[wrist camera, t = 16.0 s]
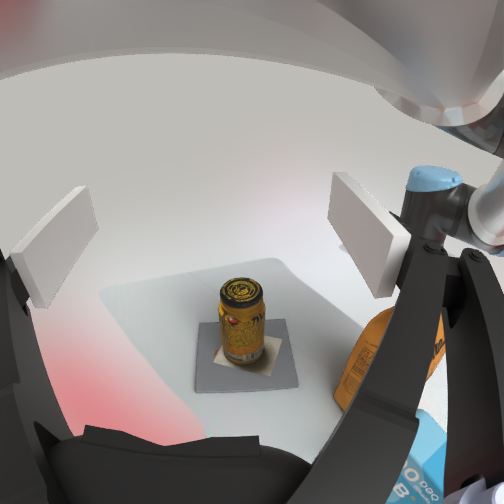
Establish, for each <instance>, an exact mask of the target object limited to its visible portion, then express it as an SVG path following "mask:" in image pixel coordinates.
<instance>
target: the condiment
mask: <svg viewBox="0 0 504 504" xmlns="http://www.w3.org/2000/svg"><path fill="white" fill-rule="evenodd" d="M262 296H263V290H262V287H261V286H260V284H259V283H257V282H256V281H254V280H253V279H249V278H234V279H231V280H229V281H227V282H226V283H225V284H224V285H223V286H222V288H221V290H220V298H221V299H220V304H219V308H218V310H219V322H220V327H221V328H220V330H221V337H222V339H221V340H222V346H221V348H220V350H219V352H218V353H217V355H216V357H215V359H214V363H217V364H220V365H224V366H228V367H231V368H236V369H239V370H244V371H248V372H252V373H256V374H262V375H266V376H271V373H272V370H273V367H274V364H275V361H276V358H277V355H278V351H279V348H280V345H281V342H282V339H279V338H274V337H270V336H265V334H264V328H265V304H264V302H263V297H262Z"/></svg>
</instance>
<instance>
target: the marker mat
mask: <svg viewBox="0 0 504 504" xmlns="http://www.w3.org/2000/svg"><path fill="white" fill-rule="evenodd" d="M220 328H221V327H220V322H214V323H200V325H199V338H198V353H197V369H196V387H195V392H196V393H231V392H252V391H266V390H278V389H288V388H297V387H298V386H299V385H298V380H297V375H296V370H295V365H294V360H293V355H292V351H291V346H290V341H289V336H288V332H287V327H286V322H285V319H275V320H265V328H264V334H265V336H270V337H274V338H279V339H282V342H281V345H280V348H279V351H278V355H277V358H276V361H275V364H274V367H273V370H272V373H271V376H266V375H262V374H256V373H252V372H248V371H244V370H239V369H236V368H231V367H228V366H224V365H220V364H217V363H214V359H215V357H216V355H217V353H218V352H219V350H220V348H221V346H222V340H221V339H222V337H221V330H220Z"/></svg>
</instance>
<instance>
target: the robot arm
mask: <svg viewBox="0 0 504 504" xmlns="http://www.w3.org/2000/svg"><path fill="white" fill-rule="evenodd" d="M157 53H158V54H159V53H186V54H209V55H223V56H234V57H244V58H252V59H259V60H266V61H273V62H279V63H284V64H290V65H295V66H300V67H305V68H309V69H314V70H318V71H322V72H326V73H330V74H334V75H338V76H342V77H345V78H348V79H352V80H355V81H358V82H362V83H365V84H368V85H371V86H374V88H375V89H376V90H377V91H378V93H379V94H380V95H381V96H382V97H383V98H384V99H385V100H387V101H388V102H389V103H390V104H391V105H392V106H394V107H395V108H397V109H398V110H399V111H401V112H403V113H404V114H406V115H408V116H410V117H412V118H414V119H417V120H419V121H422V122H425V123H428V124H431V125H434V126H436V127H437V128H439V129H441V130H444V131H445V132H447V133H449V134H451V135H453V136H455V137H457V138H459V139H460V140H462V141H464V142H467V143H469V144H471V145H473V146H475V147H477V148H479V149H482V150H484V151H487V152H489V153H492V154H493V155H496V156H498V157H500V158H503V160H502V162H501V164H500V165H499V167H498V169H497V171H496V172H495V174H494V175H493V177H492V179H491V180H490V182H489V183H488V184H484V185H482V186H480V187H479V188H475V187H473V186H470V185H467V184H464V183H462V176H461V175H460V174H459V173H457V172H454V171H452V170H450V169H446V168H442V167H436V166H418V167H415V168H413V169H412V170H411V172H410V176H409V179H408V183H407V185H406V193H405V198H404V202H403V207H402V212H401V215H400V217H399V216H397V215H395V214H393V213H392V212H388V211H387V210H386V209H385V208H384V207H383V206H382V205H381V204H380V203H379V202H378V201H377V200H376V199H375V198H374V197H373V196H372V195H371V194H370V193H368V192H367V191H366V190H365V189H364V188H363V187H362V186H361V185H360V184H359V183H358V182H356V181H355V180H354V179H353V178H352V177H351V176H350V175H349V174H348V173H346V172H333V177H332V186H331V195H330V204H329V211H328V220H329V222H330V223H331V225H332V226H333V228H334V230H335V231H336V233H337V234H338V236H339V238H340V239H341V241H342V242H343V244H344V246H345V247H346V249H347V251H348V252H349V254H350V256H351V257H352V259H353V261H354V263H355V264H356V266H357V267H358V269H359V271H360V273H361V275H362V276H363V278H364V279H365V281H366V283H367V285H368V287H369V288H370V290H371V292H372V294H373V296H374V297H375V298H383V297H391V296H392V293H393V291H394V288H395V285H397V286H398V288H399V289H400V293H399V296H398V299H397V301H396V304H395V306H394V309H393V311H392V314H391V317H390V319H389V322H388V324H387V327H386V329H385V331H384V334H383V336H382V338H381V341H380V343H379V345H378V347H377V350H376V352H375V354H374V356H373V358H372V360H371V362H370V365H369V367H368V369H367V371H366V373H365V375H364V377H363V379H362V381H361V383H360V385H359V387H358V389H357V390H356V392H355V394H354V396H353V398H352V400H351V402H350V403H349V405H348V407H347V409H346V411H345V412H344V414H343V416H342V418H341V419H340V421H339V423H338V424H337V426H336V428H335V429H334V431H333V433H332V434H331V436H330V437H329V439H328V441H327V442H326V444H325V445H324V447H323V448H322V450H321V451H320V453H319V454H318V455H317V457H316V458H315V460H314V461H313V463H312V464H310V463H308V462H306V461H305V460H303V459H302V458H300V457H298V456H296V455H294V454H292V453H289V452H286V451H284V450H281V449H277V448H273V447H269V446H263V445H260V444H259V435H258V436H240V437H210V438H206V439H201V440H197V441H192V442H187V443H181V444H176V445H170V446H162V445H158V444H155V443H152V442H149V441H146V440H144V439H141V438H138V437H136V436H133V435H131V434H128V433H126V432H123V431H118V430H112V429H105V428H100V427H95V426H89V425H85V429H84V433H83V435H80V436H74V435H73V434H72V432H71V431H70V429H69V427H68V425H67V423H66V420H65V418H64V416H63V414H62V411H61V409H60V406H59V404H58V401H57V399H56V397H55V394H54V391H53V388H52V386H51V383H50V380H49V378H48V374H47V371H46V368H45V365H44V362H43V359H42V356H41V353H40V349H39V346H38V342H37V339H36V334H35V331H34V326H33V322H32V318H31V313H30V309H29V308H28V306H27V304H26V302H27V300H28V298H29V297H30V298H31V300H32V302H33V304H34V306H35V308H48V307H49V306H50V304H51V302H52V300H53V298H54V297H55V295H56V293H57V292H58V290H59V288H60V287H61V285H62V283H63V282H64V280H65V278H66V277H67V275H68V274H69V272H70V270H71V269H72V267H73V266H74V264H75V262H76V261H77V259H78V258H79V257H80V255H81V254H82V252H83V251H84V249H85V248H86V246H87V245H88V243H89V242H90V240H91V239H92V238H93V236H94V235H95V233H96V232H97V231H98V226H97V223H96V219H95V215H94V211H93V207H92V202H91V198H90V194H89V189H88V185H86V186H80V187H76V188H75V189H73V190H72V191H71V192H70V193H69V194H68V195H67V196H66V197H64V198H63V199H62V200H61V201H60V202H59V203H58V204H57V205H56V206H55V207H54V208H53V209H52V210H50V211H49V212H48V213H47V214H46V215H45V216H44V217H43V218H42V219H41V220H40V221H39V222H38V223H37V224H36V225H35V226H34V227H33V228H32V229H31V230H30V231H29V232H28V234H27V235H26V236H25V237H24V238H23V239H22V240H21V241H20V242H19V243H18V244H17V245H16V246H15V248H14V249H13V250H12V251H11V252H10V256H9V257H8V258H7V259H6V260H5V259H4V256H3V254H2V252H1V249H0V504H385V503H386V502H387V500H388V498H389V496H390V494H391V492H392V490H393V488H394V486H395V484H396V482H397V480H398V478H399V476H400V473H401V471H402V469H403V467H404V464H405V462H406V460H407V457H408V455H409V453H410V450H411V448H412V445H413V443H414V440H415V437H416V435H417V432H418V428H419V424H420V422H419V418H416V411H417V408H418V405H419V402H420V398H421V395H422V392H423V389H424V385H425V382H426V378H427V375H428V371H429V367H430V363H431V359H432V355H433V351H434V346H435V342H436V337H437V332H438V327H439V321H440V316H441V315H442V323H443V331H444V340H445V350H446V363H447V383H448V424H447V442H446V455H445V464H444V478H443V497H444V500H443V501H442V502H441V503H440V504H504V294H503V292H502V289H501V287H500V284H499V282H498V280H497V277H496V275H495V273H494V271H493V268H492V266H491V264H490V262H489V260H488V259H487V257H486V256H484V255H483V253H482V252H479V250H475V249H472V248H465V249H463V251H462V253H461V256H460V258H455V257H450V256H448V254H447V251H446V250H445V249H444V248H443V244H444V240H445V238H446V235H449V236H451V237H454V238H456V239H459V240H461V241H463V242H466V243H468V244H470V245H473V246H475V247H477V248H479V249H482V250H484V251H486V252H488V253H489V254H491V255H496V256H499V257H504V0H0V80H2V79H5V78H8V77H11V76H15V75H17V74H21V73H25V72H29V71H32V70H36V69H41V68H45V67H49V66H54V65H58V64H63V63H68V62H74V61H80V60H87V59H94V58H102V57H111V56H120V55H135V54H157Z"/></svg>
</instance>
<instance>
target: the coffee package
mask: <svg viewBox="0 0 504 504" xmlns="http://www.w3.org/2000/svg"><path fill="white" fill-rule="evenodd" d="M458 258H460V257H458ZM393 309H394V306H393V307H391V308H389V309H386V310H384V311H382V312H380V313H379V314H378V315H377V316H376V317H374V318H373V319H372V320H371V321H370V322H369V323H368V324H367V326H366V327H365V329H364V331H363V332H362V334H361V335H360V337H359V339H358V341H357V343H356V345H355V347H354V349H353V351H352V353H351V355H350V357H349V359H348V361H347V364H346V367H345V370H344V372H343V374H342V377H341V380H340V383H339V385H338V387H337V389H336V392H335V393H334V399H335V400H336V402H337V403H338V404H339V405H340V406H341V408H342V409H343V410H344V412H345V411H346V409H347V407H348V405H349V403H350V402H351V400H352V398H353V396H354V394H355V392H356V390H357V389H358V387H359V385H360V383H361V381H362V379H363V377H364V375H365V373H366V371H367V369H368V367H369V365H370V362H371V360H372V358H373V356H374V354H375V352H376V350H377V347H378V345H379V343H380V341H381V338H382V336H383V334H384V331H385V329H386V327H387V324H388V322H389V319H390V317H391V314H392V311H393ZM445 352H446V350H445V340H444V331H443V323H442V315H441V316H440V321H439V327H438V332H437V337H436V342H435V346H434V351H433V355H432V359H431V363H430V367H429V371H428V375H427V378H426V381H427V380H428V379H429V377H430V376H431V375H432V374H433V372H434V370H435V369H436V367H437V365H438V364H439V362H440V361H441V359H442V357H443V355H444V353H445ZM425 383H426V382H425Z"/></svg>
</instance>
